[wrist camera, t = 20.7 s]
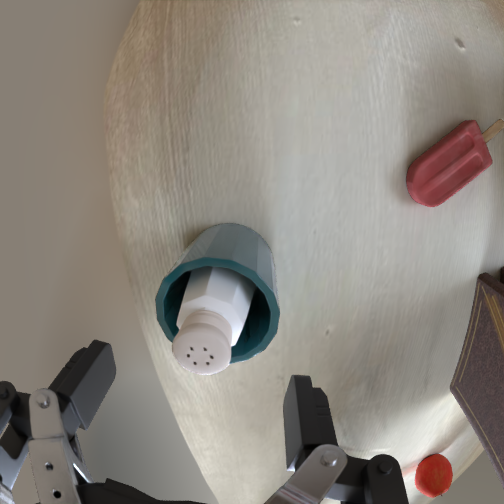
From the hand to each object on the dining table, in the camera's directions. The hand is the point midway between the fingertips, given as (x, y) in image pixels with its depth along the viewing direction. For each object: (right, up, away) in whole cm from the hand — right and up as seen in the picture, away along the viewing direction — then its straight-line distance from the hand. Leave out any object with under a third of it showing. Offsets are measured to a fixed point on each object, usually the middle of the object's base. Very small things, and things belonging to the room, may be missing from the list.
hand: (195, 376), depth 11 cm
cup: (+1, +4, +12) cm, 13 cm away
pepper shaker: (0, +4, +12) cm, 12 cm away
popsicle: (+22, +14, +8) cm, 27 cm away
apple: (+39, -38, +26) cm, 60 cm away
